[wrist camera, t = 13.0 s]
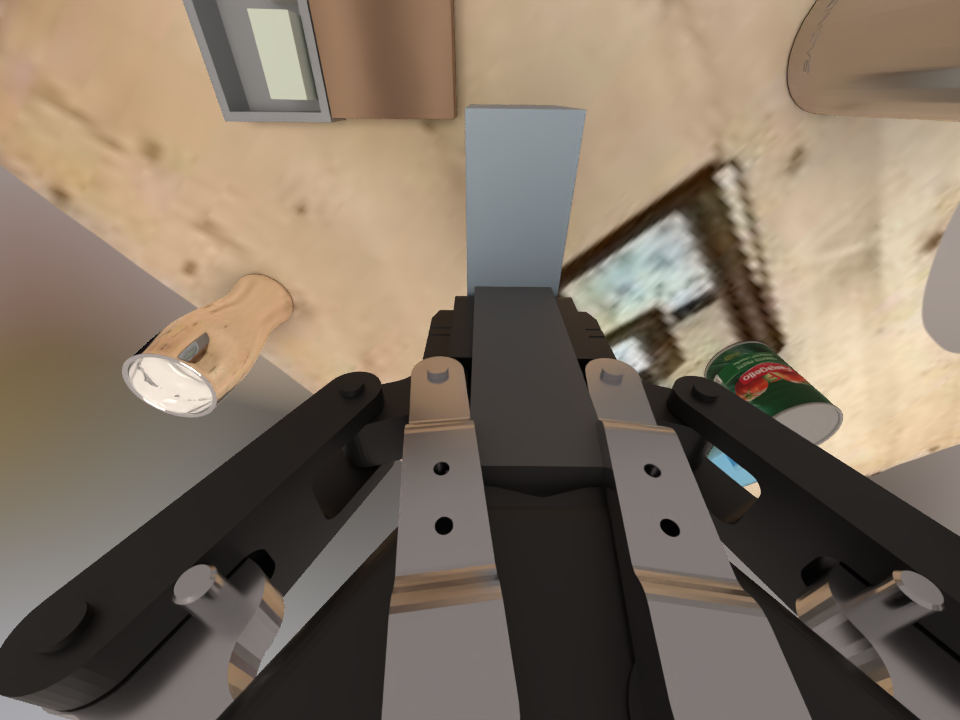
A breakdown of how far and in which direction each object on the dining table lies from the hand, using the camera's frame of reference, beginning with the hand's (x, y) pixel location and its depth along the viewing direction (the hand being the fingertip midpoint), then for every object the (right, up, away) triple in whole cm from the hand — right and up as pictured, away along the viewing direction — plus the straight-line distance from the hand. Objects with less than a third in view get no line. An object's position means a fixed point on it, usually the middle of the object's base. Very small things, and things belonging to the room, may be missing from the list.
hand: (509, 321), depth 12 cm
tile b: (-13, +20, +13) cm, 27 cm away
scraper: (0, +3, +4) cm, 5 cm away
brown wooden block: (-7, +24, +13) cm, 28 cm away
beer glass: (-25, +6, +27) cm, 38 cm away
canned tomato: (+32, -2, +33) cm, 46 cm away
